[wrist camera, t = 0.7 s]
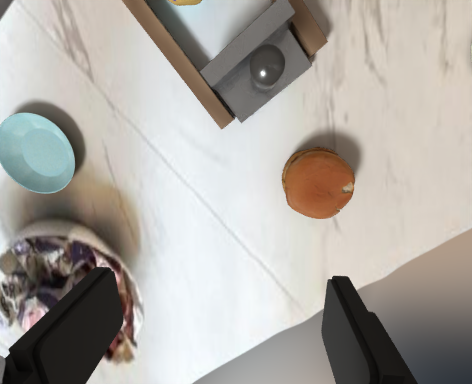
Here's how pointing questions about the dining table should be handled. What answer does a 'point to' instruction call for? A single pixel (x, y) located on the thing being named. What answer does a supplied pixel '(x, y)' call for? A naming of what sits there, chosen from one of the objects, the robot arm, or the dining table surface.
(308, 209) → the burger
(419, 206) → the dining table surface
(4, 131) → the saucer
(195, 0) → the cupcake
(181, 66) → the press bed
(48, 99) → the dining table surface
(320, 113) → the dining table surface
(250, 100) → the ram
